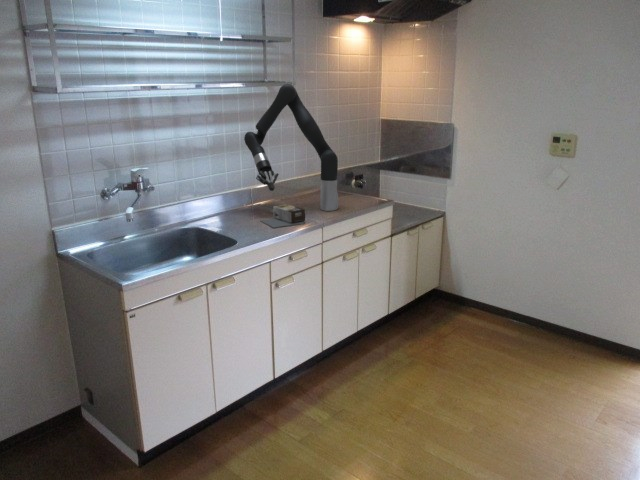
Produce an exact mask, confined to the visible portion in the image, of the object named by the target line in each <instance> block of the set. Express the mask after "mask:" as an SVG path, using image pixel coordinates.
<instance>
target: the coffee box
mask: <svg viewBox="0 0 640 480" xmlns="http://www.w3.org/2000/svg"><path fill="white" fill-rule="evenodd" d="M272 209H273V211H272V212H273V213H272V214H273V218H277V219H280V220H283V221H286V222H289V223H297V222H306V209H305V208H302V207H301V208H300V207H299V206H298V207H297V206H295V205H291V204H288V203H285V204H280V205H274V206H273V207H272Z"/></svg>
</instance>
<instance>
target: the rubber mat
mask: <svg viewBox="0 0 640 480" xmlns="http://www.w3.org/2000/svg"><path fill="white" fill-rule="evenodd" d="M259 220H260V223H263V224H265V225H266V226H268V227H270V228H272V229H280V228H286V227H293V226H295V227H296V226H301V224H302V225H306V223H305V221H302V222H297V223H289V222H286V221H283V220H280V219H277V218H274V217H273V218H268V219H266V218H265V219H259Z"/></svg>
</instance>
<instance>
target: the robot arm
mask: <svg viewBox="0 0 640 480" xmlns="http://www.w3.org/2000/svg"><path fill="white" fill-rule="evenodd" d="M286 106H288V108H289V110H290V111H291V112H292V115H293V117H294V120H295V122H296V124H297V126H298V128H299V129H300V131H301V133H302V134H303V136H304V137H305V139H306V140H307V141H308V142H309V143H310V144H311V145H312V147H313V148H314V149H315V151H316V153H317V155H318V157H319V160H320V210H321V211H326V212H332V211H333V212H334V211H336V210H338V209H339V192H338V165H339V164H338V163H339V159H338V156H337V154H336V153H335V152H334V150H333V149H332V148H331V146H330V145H329V144H328V143H327V140H326V139H325V137H324V135H323V132H322V131H321V129H320V127H319V125H318V123H317V121H316V120H315V119H314V117H313V116H312V114H311V113H310V111H309V110H308V109H307V108H306V106H305V105H304V104H303V101H302V100H301V97H300V96H299V93H298V92H297V90H296V88H295V86H294V85H292V84H290V83H286V84H283V85H281V87H279V90H278V92H277V95H275V98H274V100H273V102H272V103H271V105H270V106H269V108H268V109H267V110H266V111H265V112H264V113H263V115H262V116H261V117H260V118H259V120H258V121H257V123H256V124H255V129H256V130H257V132H256V133H255V132H254V131H247V132H245V134H244V137H243V140H244V144H245V145H246V147H247V148H248V150H249V152H250V153H251V155H252V158H253V161H254V165H255V167H256V170H257V173H258V174H257V175H256V180H257V181H259V182H260V183H261V184H263V185H266V186H267V187H268V190H269V191H270V192H272V191H274V190H275V188H276V187H275V183H276V181H277V179H278V177H279V175H280V174H279V173H276V172H274V170H273V168H272V165H271V163H270V160H269V158H268V156H267V153H266V151H265V148H264V147H263V146H262V145H263V143H264V141H265V138H266V135H267V132H268V131H269V130H270V129H271V128H272V126H273V124H275V121H277V120H276V119H277V118H278V117H279V115H280V114H281V113H282V111H283V110H284V109H285V108H286Z"/></svg>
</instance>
